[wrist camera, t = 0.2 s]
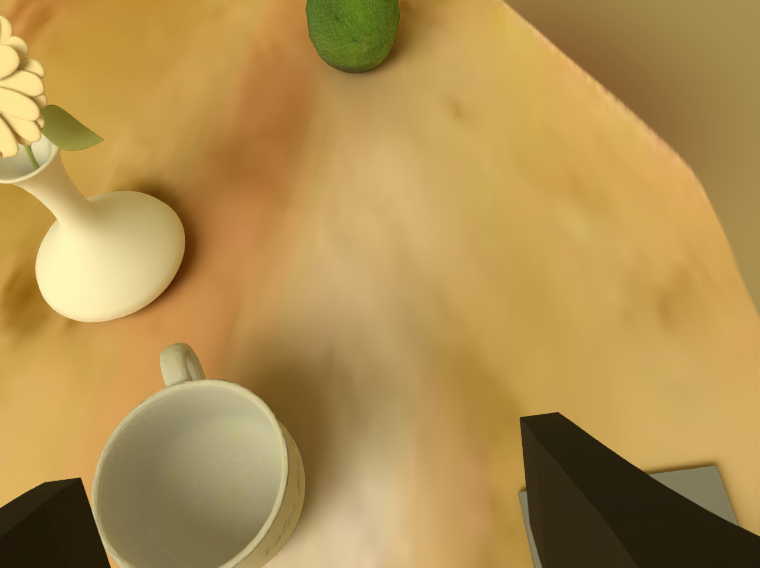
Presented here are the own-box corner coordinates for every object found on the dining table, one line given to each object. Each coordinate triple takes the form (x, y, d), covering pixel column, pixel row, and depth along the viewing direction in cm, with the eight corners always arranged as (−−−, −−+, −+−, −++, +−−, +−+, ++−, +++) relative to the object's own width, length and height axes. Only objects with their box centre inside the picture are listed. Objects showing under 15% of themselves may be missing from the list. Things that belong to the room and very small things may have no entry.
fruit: (405, 88, 57) (396, -36, 46) (317, 97, 57) (288, -25, 47) (399, 27, 60) (390, -100, 50) (316, 36, 61) (290, -89, 50)
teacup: (321, 580, 38) (294, 568, 31) (142, 606, 38) (74, 599, 31) (306, 363, 45) (280, 313, 38) (153, 386, 45) (100, 340, 38)
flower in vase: (19, 302, 49) (-318, 37, 27) (104, 190, 54) (-126, -113, 32) (159, 360, 46) (-100, 111, 24) (237, 235, 50) (80, -69, 29)
